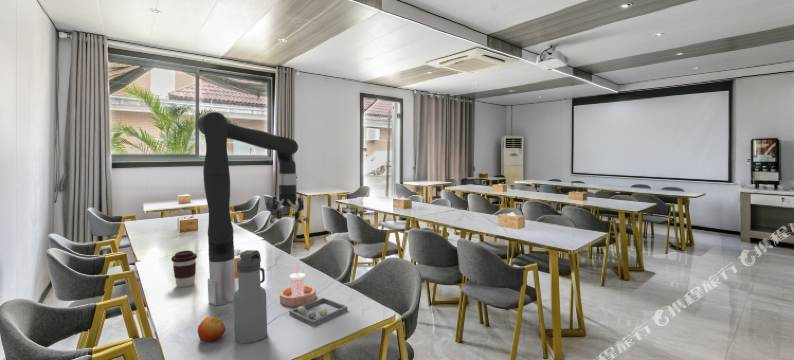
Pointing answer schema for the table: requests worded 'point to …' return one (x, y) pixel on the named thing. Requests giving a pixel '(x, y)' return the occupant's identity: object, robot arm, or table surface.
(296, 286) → the beverage cup
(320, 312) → the pebble
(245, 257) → the water bottle
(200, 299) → the table surface
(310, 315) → the pebble
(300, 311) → the pebble
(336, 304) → the tray
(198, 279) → the table surface
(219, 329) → the fruit
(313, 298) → the bowl
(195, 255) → the coffee cup
